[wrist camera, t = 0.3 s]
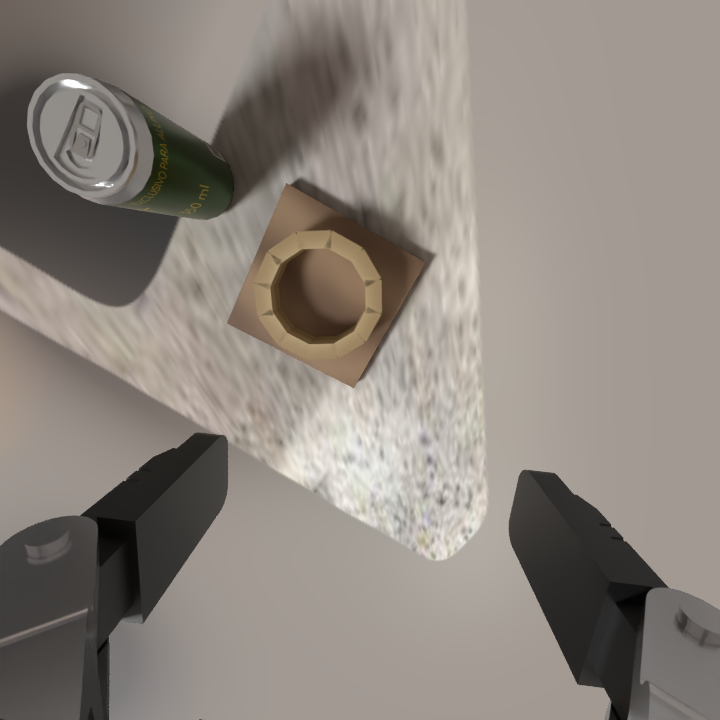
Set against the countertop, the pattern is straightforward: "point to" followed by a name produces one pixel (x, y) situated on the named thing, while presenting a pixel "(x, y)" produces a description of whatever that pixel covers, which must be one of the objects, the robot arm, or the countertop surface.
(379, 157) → the countertop surface
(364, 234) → the socket board
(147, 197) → the beer can
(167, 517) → the robot arm
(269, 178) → the countertop surface
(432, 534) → the countertop surface
